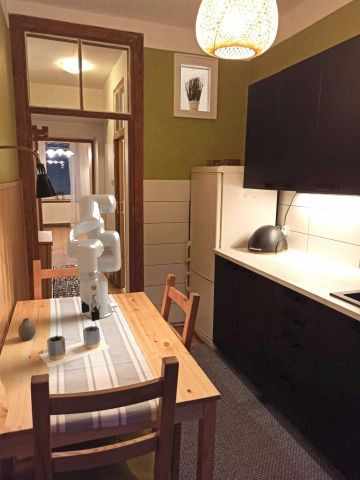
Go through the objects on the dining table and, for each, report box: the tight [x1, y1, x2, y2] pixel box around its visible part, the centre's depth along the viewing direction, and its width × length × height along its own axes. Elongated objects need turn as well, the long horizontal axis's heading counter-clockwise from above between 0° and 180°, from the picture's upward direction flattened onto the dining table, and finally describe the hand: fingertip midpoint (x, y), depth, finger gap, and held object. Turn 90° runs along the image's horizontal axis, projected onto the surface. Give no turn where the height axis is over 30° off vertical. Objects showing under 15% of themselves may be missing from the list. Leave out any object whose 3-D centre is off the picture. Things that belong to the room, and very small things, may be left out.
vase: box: [17, 317, 37, 341], centre depth 150 cm, size 7×7×9 cm
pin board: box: [38, 331, 111, 368], centre depth 135 cm, size 24×12×8 cm, turn 127°
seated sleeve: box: [46, 335, 66, 361], centre depth 131 cm, size 6×6×7 cm
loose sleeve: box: [82, 325, 101, 349], centre depth 139 cm, size 6×6×7 cm
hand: (90, 316), depth 138 cm, fingers open, 9 cm apart
